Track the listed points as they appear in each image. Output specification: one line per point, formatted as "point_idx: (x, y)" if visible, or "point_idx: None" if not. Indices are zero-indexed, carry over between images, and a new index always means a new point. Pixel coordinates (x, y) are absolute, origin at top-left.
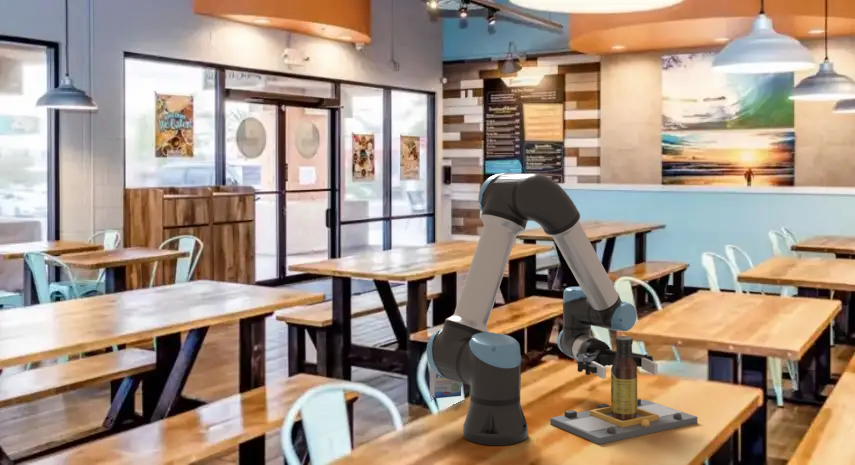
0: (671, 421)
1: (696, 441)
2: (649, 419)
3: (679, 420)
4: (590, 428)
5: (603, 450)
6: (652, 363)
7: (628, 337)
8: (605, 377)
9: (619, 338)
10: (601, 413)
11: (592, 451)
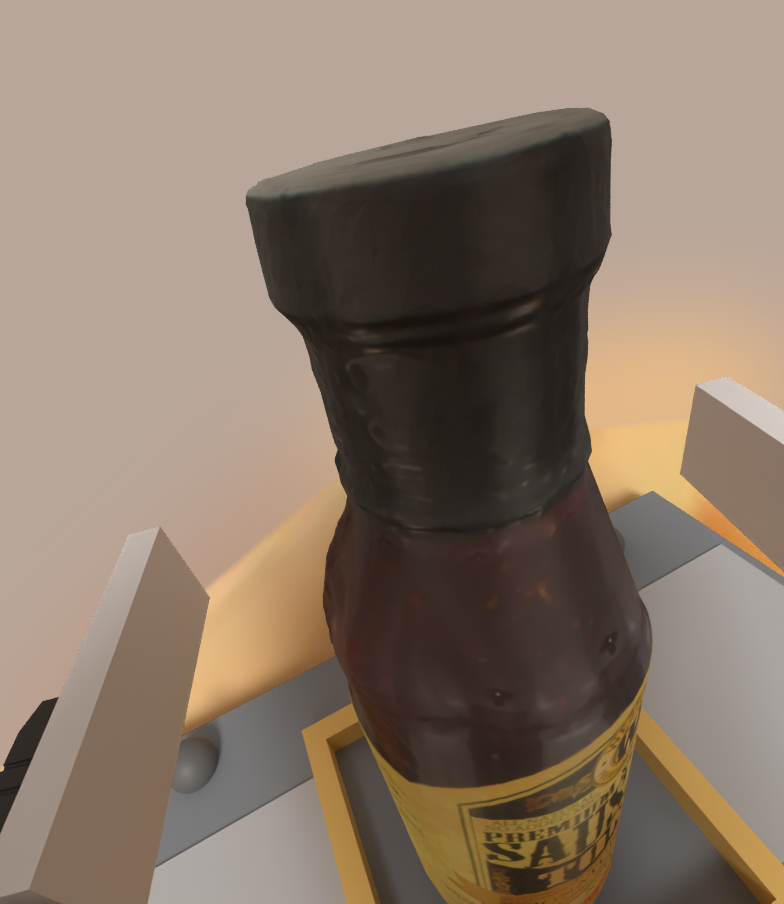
0: (262, 707)
1: (280, 556)
2: None
3: (213, 722)
4: (720, 589)
5: (628, 467)
6: (152, 566)
7: (317, 170)
8: (686, 465)
9: (527, 115)
10: (691, 791)
11: (668, 457)
